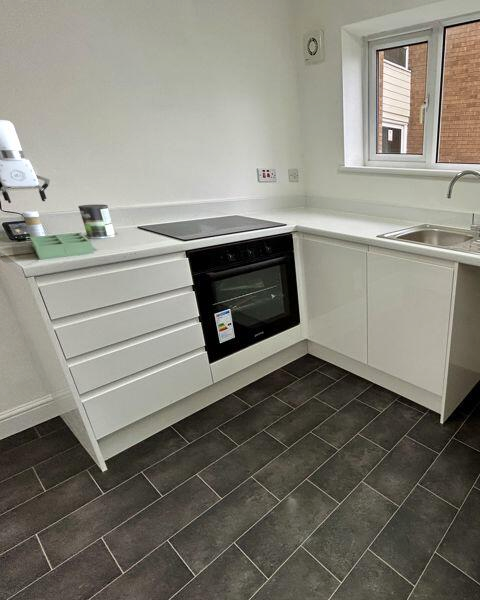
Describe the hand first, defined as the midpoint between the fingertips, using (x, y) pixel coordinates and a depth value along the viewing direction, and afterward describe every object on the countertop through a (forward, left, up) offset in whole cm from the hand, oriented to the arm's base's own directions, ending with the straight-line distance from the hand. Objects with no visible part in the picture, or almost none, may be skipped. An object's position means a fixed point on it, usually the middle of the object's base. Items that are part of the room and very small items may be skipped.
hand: (27, 201), depth 140 cm
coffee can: (+21, +5, -18) cm, 28 cm away
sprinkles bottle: (0, 0, -18) cm, 18 cm away
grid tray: (+5, -18, -17) cm, 26 cm away
